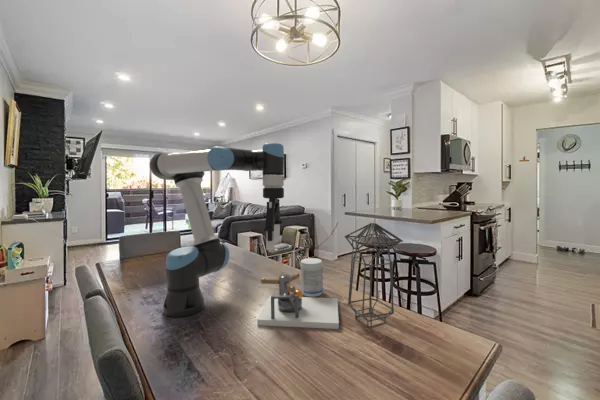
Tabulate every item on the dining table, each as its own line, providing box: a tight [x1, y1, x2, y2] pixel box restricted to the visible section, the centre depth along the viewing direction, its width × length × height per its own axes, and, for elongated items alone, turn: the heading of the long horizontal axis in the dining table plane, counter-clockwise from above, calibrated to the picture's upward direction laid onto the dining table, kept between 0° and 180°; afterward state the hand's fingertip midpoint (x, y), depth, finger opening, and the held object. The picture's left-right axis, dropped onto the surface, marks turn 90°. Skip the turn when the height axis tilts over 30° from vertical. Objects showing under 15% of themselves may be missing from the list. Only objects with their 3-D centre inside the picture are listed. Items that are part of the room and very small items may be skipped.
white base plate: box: [256, 293, 340, 330], centre depth 106 cm, size 28×20×10 cm
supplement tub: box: [300, 257, 324, 298], centre depth 125 cm, size 10×10×15 cm
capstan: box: [260, 272, 303, 313], centre depth 107 cm, size 16×16×12 cm
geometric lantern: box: [343, 222, 404, 328], centre depth 101 cm, size 16×16×35 cm
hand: (273, 245), depth 104 cm, fingers open, 13 cm apart
